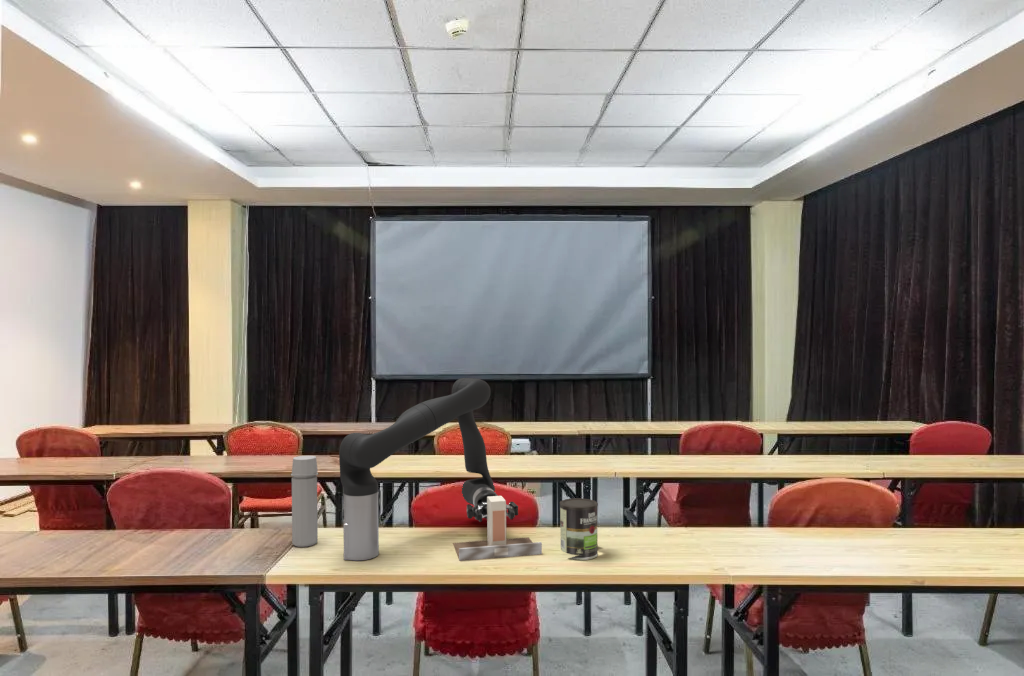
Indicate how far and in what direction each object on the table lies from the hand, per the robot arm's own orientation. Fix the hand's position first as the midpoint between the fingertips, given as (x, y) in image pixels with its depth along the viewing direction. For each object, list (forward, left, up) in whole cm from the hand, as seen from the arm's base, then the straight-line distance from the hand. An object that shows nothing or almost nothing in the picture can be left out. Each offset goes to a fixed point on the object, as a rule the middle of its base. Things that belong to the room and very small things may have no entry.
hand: (496, 516), depth 177 cm
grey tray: (0, +1, -10) cm, 11 cm away
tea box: (0, 0, -9) cm, 9 cm away
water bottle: (-52, +24, -11) cm, 58 cm away
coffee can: (+22, -4, -11) cm, 25 cm away
